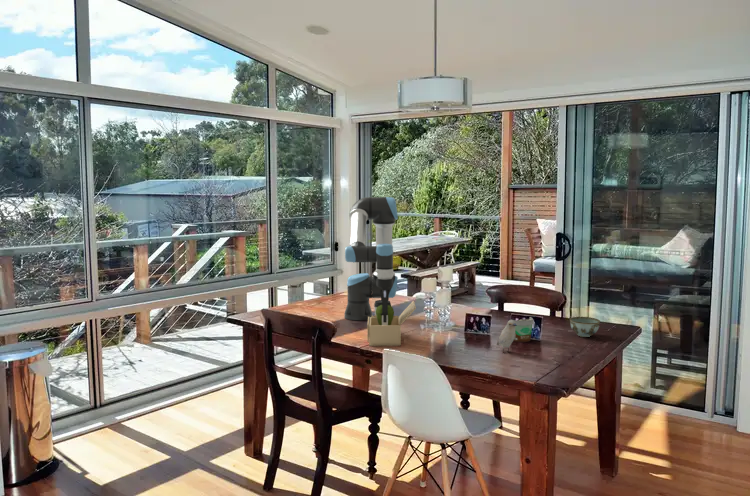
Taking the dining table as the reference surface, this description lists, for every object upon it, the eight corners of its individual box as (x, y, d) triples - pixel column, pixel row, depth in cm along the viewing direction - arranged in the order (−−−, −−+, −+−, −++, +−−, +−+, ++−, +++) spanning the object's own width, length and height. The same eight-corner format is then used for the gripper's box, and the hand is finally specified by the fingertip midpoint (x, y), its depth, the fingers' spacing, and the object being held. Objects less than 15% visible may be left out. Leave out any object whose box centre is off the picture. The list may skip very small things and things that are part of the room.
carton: (368, 335, 296) (368, 315, 294) (399, 335, 295) (399, 315, 294) (367, 346, 276) (367, 325, 275) (400, 346, 276) (400, 325, 275)
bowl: (568, 338, 289) (568, 321, 288) (569, 331, 301) (570, 315, 300) (599, 341, 284) (600, 323, 283) (599, 334, 296) (600, 317, 296)
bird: (511, 357, 258) (512, 322, 256) (492, 349, 270) (493, 315, 269) (521, 356, 260) (522, 321, 258) (502, 348, 272) (503, 314, 271)
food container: (518, 344, 279) (518, 322, 278) (509, 340, 285) (509, 319, 284) (539, 340, 285) (539, 319, 284) (530, 337, 290) (530, 316, 289)
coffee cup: (389, 334, 298) (389, 303, 296) (372, 333, 299) (372, 302, 298) (392, 329, 306) (392, 300, 304) (376, 329, 308) (375, 299, 306)
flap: (399, 316, 292) (413, 300, 292) (400, 316, 293) (414, 301, 292) (400, 324, 277) (415, 307, 276) (401, 324, 277) (416, 308, 276)
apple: (372, 327, 287) (372, 302, 286) (389, 325, 291) (389, 301, 289) (380, 331, 279) (380, 306, 278) (397, 329, 283) (397, 304, 281)
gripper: (376, 274, 293) (376, 321, 296) (376, 281, 272) (376, 332, 274) (392, 274, 293) (392, 321, 295) (393, 281, 272) (393, 332, 274)
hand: (384, 326), depth 285 cm, fingers closed on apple, 8 cm apart
